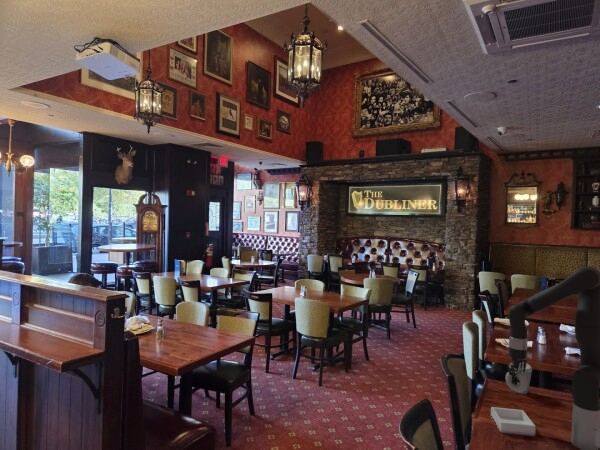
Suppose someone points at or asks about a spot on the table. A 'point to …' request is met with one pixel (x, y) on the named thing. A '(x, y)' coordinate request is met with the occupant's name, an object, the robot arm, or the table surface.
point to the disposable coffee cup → (527, 375)
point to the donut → (516, 388)
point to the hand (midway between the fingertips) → (516, 382)
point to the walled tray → (513, 421)
